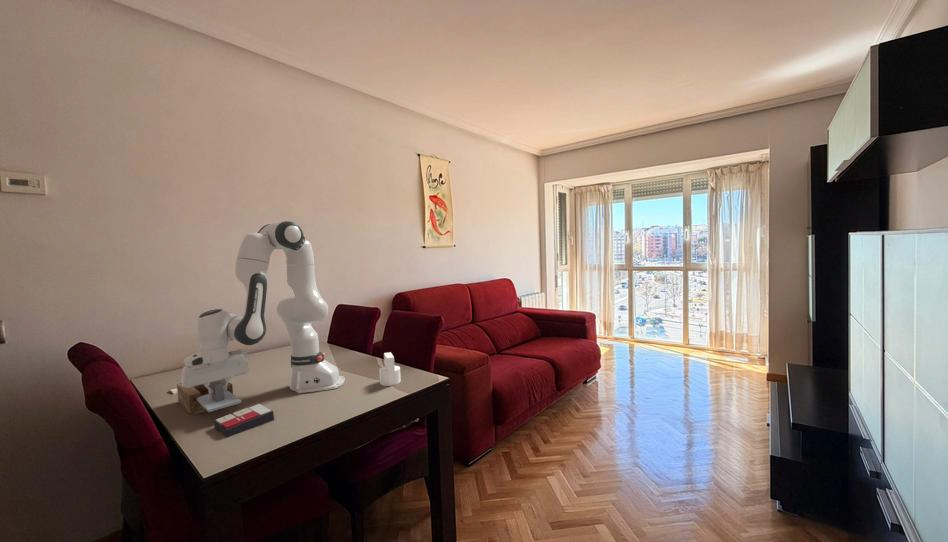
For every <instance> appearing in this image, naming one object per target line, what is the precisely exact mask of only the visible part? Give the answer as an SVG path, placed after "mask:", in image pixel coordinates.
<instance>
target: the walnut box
mask: <svg viewBox="0 0 948 542" xmlns="http://www.w3.org/2000/svg"><path fill="white" fill-rule="evenodd" d="M219 381H220V382H221V383H223V385H224V382H225V380H224V379H222V380H219ZM209 387H210V388H211V383H210V385H209ZM176 388H177V392H178V393H177V401H178V404H179V405H180V406H181V407H182V408H183V409H184V410H185V411H186V412H187V413H188V415H189V416H194V415H198V414H201V413H205V412H208V411H207V410H206V409H205V408H204V407H203V406H202V405H201V404H200V403H199V402H198V401H197V400H196V397H200V396H203V395H207V394H209V393H208V389H207V388H206V387H205V386H204V384H202V385H198V386H193V387H189V388H185V387H183V386H182V383H176ZM233 388H234V387H233V384H232V383H231V382H229V383H228V385H227V390H228V391H229V392H230V393H232V394H233V395H234V390H233Z"/></svg>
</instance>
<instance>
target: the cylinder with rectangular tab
mask: <svg viewBox="0 0 948 542" xmlns="http://www.w3.org/2000/svg"><path fill="white" fill-rule="evenodd" d="M383 360H384V361H383V362H384V363H383V364H384V366H382V367H380V368H379V369H378V372H379V384H380V385H381V386H384V387H387V386H388V387H391V386H396V385H398V384H400V383H401V381H402V379H401V367H400V366H399V365H395V357H394V355H393V353H392V351H391V352H390V351H389V352H384V353H383Z"/></svg>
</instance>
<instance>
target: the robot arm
mask: <svg viewBox="0 0 948 542" xmlns="http://www.w3.org/2000/svg"><path fill="white" fill-rule="evenodd" d="M274 250H283V252H284V254H285V257H286V259H285V260H286V262H285V263H286V283H287V285H288V286H289V287H290V289H291V290H292V293H293V294H294V296H289V297H288V296H287V297H285V298H283V299H281V300H280V301H279V302H278V304H277V306H276V313H277V315H278V316H279V318H280V319H281V320H282V322H283V323H284V325H285V326H286V327H285V328H286V329H287V332H288V335H289V340H290V350H291V351H290V352H291V355H290V368H291V380H290V381H291V382H290V385H289V390H291V391H293V392H295V393H297V394H304V393H305V394H306V393H311V392H313V393H314V392H321V391H328V390H335V389H337V388H340V387H341V386H343V384H344V383H345V381H346V378H345V376H343V375H340V372H339V369H338V367H337V366H336V365H334V364H333V363H331V362H329V361H328V360H326V359H325V353H326V352H321V351H320V343H319V334H318V332H317V331H316V330H315V329H314V328H313V326H312V324H316V323H320V322H322V321H324V320H326V319H327V317H328V314H329V309H330V308H329V305H328V302H326V301H325V300H324V299H323V297H322V296H321V294H320V291H319V289H318V285H317V281H316V269H315V256H314V250H313V246H312V243H311V242H310V241H309V240H307V239H306V238H305V236H304V231H303V230H302V228H301V227H300V225H299V224H297V223H296V222H293V221H289V220H288V221H287V220H286V221H275V222H272V223H268V224H265V225H263V226H262V227H261V228H260V229H259V230H258V231H257V232H250V233H247V234H246V235H245V236H244V237H243V239H242V242H241V244H240V247H239V248H238V253H237V257H236V261H235V267H234V268H235V269H234V271H235V273H234V274H235V276H236V278H237V279H238V281H240V282H241V283H242V285H243V286H244V288H245V291H246V300H245V306H244V307H245V308H244V314H243V315H241V314H235V313H231V312H227V311H225V310H224V309H222V308H218V309H217V308H216V309H211V310H210V309H209V310H207V311H204V312H202V313H200V314H199V316H198V319H197V338H198V341H199V347H198V352H195V353H193V354H191V355H188V356H187V357H185V358H184V359H183V362H184V366H183V367H182V369H181V377H180V378H181V379H180V381H181V383H182V386H183V387H185V388H189V387H193V386H198V385H202V384H204V386H205V387H206V388H207V389H208V393H209V395H211V394H214V389H213V388H210V387H209V385H210V382H214V381H218V380H222V379H224V380H225V382H224V385H223V388H224V391H226V390H227V385H228V383H230V380H231V379H230V377H238V376H241V375H246V374H247V373H248V372H249V366H248V361H247V359H248V352H247V351H246V350H243V349H237V350H233V351H230V348H229V347H230V346H229V343H230V342H231V341H232V342H236V343H237V342H238V343H240V344H241V345H245V346H253V345H256V344H258V343H259V342H261V341H262V340H263V339H264V337H265V336H266V333H267V325H266V321H265V312H266V311H265V309H266V303H267V302H266V301H267V292H268V271H269V265H270V258H271V255H272V253H273V251H274Z"/></svg>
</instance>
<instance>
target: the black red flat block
mask: <svg viewBox="0 0 948 542" xmlns="http://www.w3.org/2000/svg"><path fill="white" fill-rule="evenodd" d="M273 421H275V415H274V410H272V409H271V408H268V407H267V406H265V405H264V404H261V403H257V404H255V405H253V406H250V407H245V408H243V409H239V410H238V411H234V412H232V413H229V414H227V415H224V416H222V417H219V418H217V419H215V420H214V421H213V425H214V429H215V430H216V431H217V432H218V433H220V434H221V435H222V436H224V437H225V438H229V437H232V436H235V435H237V434H240V433H243V432H246V431H249V430H251V429H253V428H256V427H258V426H262V425H265V424H268V423H270V422H273Z"/></svg>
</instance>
